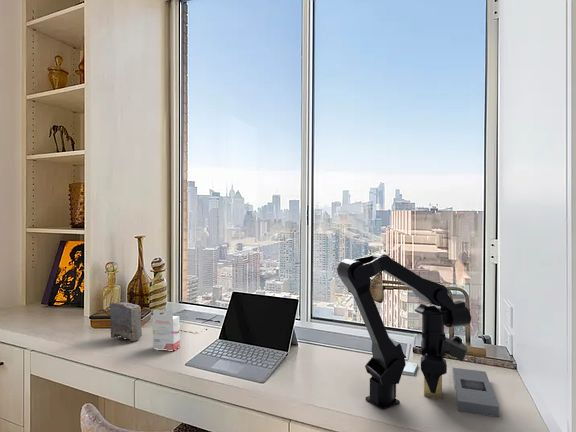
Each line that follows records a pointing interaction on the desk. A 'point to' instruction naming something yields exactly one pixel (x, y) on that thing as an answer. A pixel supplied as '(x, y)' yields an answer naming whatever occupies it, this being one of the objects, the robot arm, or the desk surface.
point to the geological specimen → (125, 320)
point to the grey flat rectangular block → (474, 392)
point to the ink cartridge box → (166, 330)
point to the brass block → (438, 390)
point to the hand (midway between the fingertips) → (432, 385)
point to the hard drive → (410, 368)
